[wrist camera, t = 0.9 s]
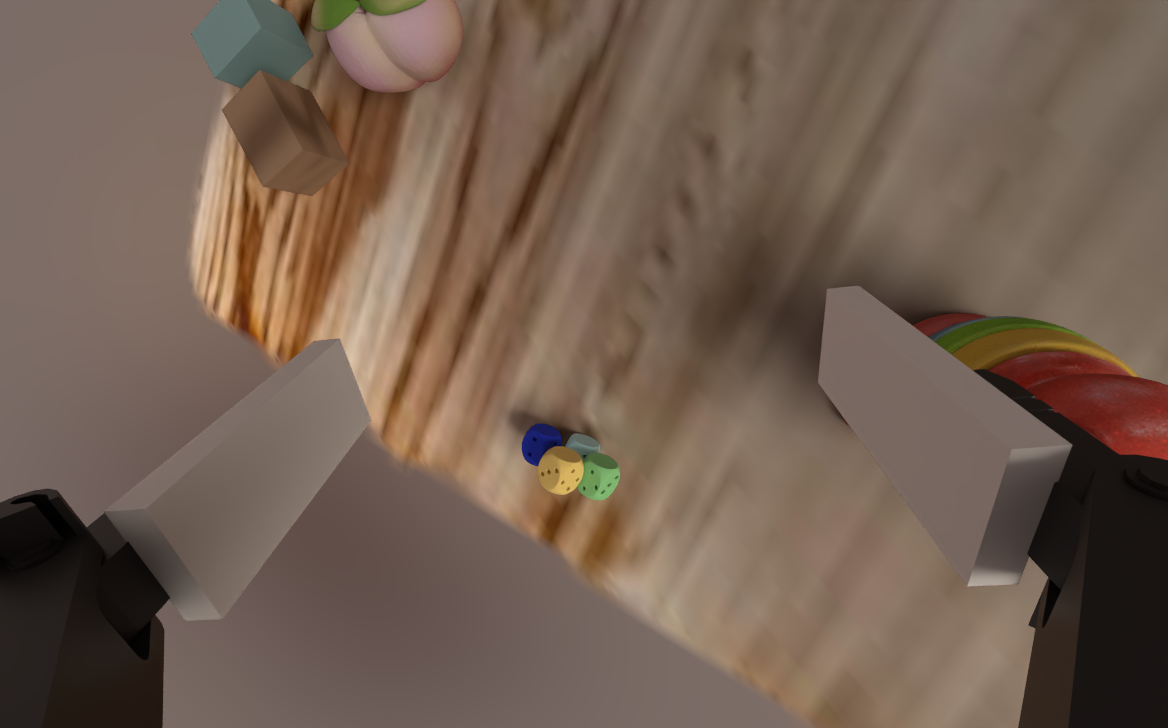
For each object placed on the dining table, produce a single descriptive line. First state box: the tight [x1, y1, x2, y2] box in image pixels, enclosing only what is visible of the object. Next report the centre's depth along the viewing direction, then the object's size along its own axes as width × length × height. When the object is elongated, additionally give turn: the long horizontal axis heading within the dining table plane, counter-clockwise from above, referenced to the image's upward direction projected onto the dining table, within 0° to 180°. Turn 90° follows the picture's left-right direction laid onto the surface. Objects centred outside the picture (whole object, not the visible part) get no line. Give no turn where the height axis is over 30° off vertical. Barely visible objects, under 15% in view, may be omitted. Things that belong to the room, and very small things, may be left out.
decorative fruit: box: [311, 0, 463, 93], centre depth 35 cm, size 9×8×10 cm
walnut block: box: [222, 70, 350, 196], centre depth 42 cm, size 7×5×5 cm
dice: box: [522, 424, 620, 500], centre depth 38 cm, size 8×3×6 cm, turn 71°
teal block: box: [192, 0, 313, 88], centre depth 41 cm, size 6×4×5 cm, turn 120°
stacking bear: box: [844, 313, 1168, 460], centre depth 24 cm, size 11×10×18 cm
